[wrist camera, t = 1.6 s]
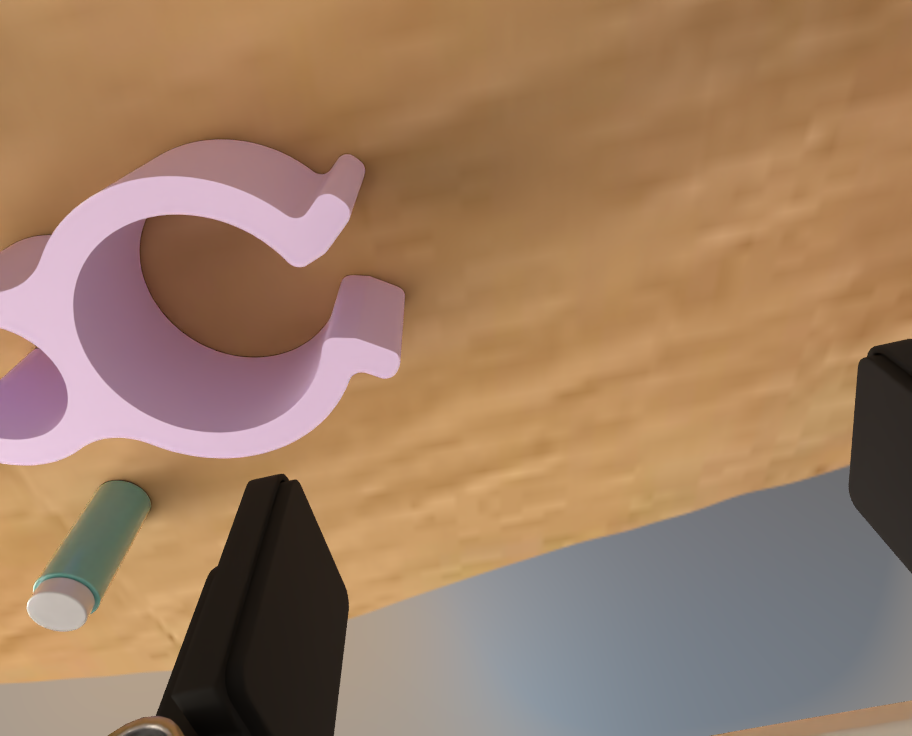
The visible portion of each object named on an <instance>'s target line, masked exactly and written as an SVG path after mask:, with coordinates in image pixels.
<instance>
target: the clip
mask: <svg viewBox="0 0 912 736" xmlns="http://www.w3.org/2000/svg"><path fill="white" fill-rule="evenodd" d="M364 175H365V167H364V165H363V163H362V162H361V161H360V160H358V159H357V158H356V157H354V156H353V155H350V154H344V155H342V156H340V157H339V158H338V159H337V161H336V162H335V164H334V165H333V167H332V168H331V170H330V171H329V172H327V173H325V174H317V173H315V172H314V171H312V170H311V169H309V168H308V167H307V166H305V165H304V164H302V163H300V162H299V161H297V160H295V159H294V158H292V157H290V156H288V155H286V154H284V153H281V152H279V151H277V150H274V149H272V148H269V147H266V146H263V145H259V144H255V143H251V142H245V141H239V140H226V139H216V140H204V141H198V142H192V143H188V144H185V145H182V146H179V147H176V148H173V149H171V150H169V151H167V152H165V153H163V154H161V155H159V156H157V157H156V158H154V159H153V160H151V161H149V162H148V163H146V164H144V165H143V166H141V167H139V168H138V169H136V170H134V171H133V172H131V173H129V174H128V175H126V176H124V177H123V178H121V179H119V180H118V181H116V182H114V183H113V184H111V185H109V186H108V187H106V188H104V189H103V190H101V191H99V192H98V193H96V194H94V195H93V196H91V197H90V198H88V199H87V200H85V201H84V202H82V203H81V204H80V205H78V206H77V207H76V208H74V209H73V210H72V211H71V212H70V213H69V214H68V215H67V216H66V217H65V218H64V219H63V220H62V222H61V223H60V224H59V225H58V227H57V228H56V229H55V231H54V232H53V234H52V235H40V236H34V237H30V238H26V239H23V240H20V241H18V242H16V243H14V244H12V245H11V246H9V247H7V248H6V249H4V250H2V251H1V252H0V328H2V329H5V330H8V331H10V332H13V333H15V334H17V335H20V336H22V337H23V338H25V339H27V340H29V341H30V342H32V343H33V344H35V345H36V346H37V347H38V348H37V349H34V350H33V351H32V352H30V353H29V354H28V355H27V356H26V357H25V358H24V359H23V360H21V361H20V362H19V363H18V364H17V365H16V366H15V367H14V368H13V369H12V370H10V371H9V372H8V373H7V374H6V375H5V376H4V377H3V378H2V379H0V463H4V464H11V465H39V464H46V463H51V462H55V461H58V460H61V459H63V458H66V457H68V456H70V455H72V454H74V453H75V452H77V451H78V450H80V449H81V448H82V447H84V446H86V445H87V444H89V443H92V442H94V441H97V440H101V439H106V438H130V439H135V440H140V441H143V442H146V443H149V444H152V445H154V446H157V447H160V448H163V449H166V450H169V451H173V452H177V453H181V454H186V455H191V456H198V457H207V458H238V457H246V456H252V455H258V454H262V453H266V452H269V451H272V450H276V449H278V448H281V447H283V446H286V445H288V444H290V443H292V442H294V441H296V440H298V439H299V438H301V437H303V436H304V435H306V434H307V433H309V432H310V431H311V430H313V429H314V428H315V427H316V426H318V425H319V424H320V423H321V422H322V421H323V420H324V419H325V418H326V417H327V416H328V415H329V414H330V413H331V411H332V410H333V409H334V407H335V406H336V405H337V403H338V402H339V400H340V399H341V397H342V395H343V393H344V391H345V389H346V387H347V385H348V383H349V380H350V378H351V377H352V376H353V375H354V374H356V373H359V372H364V373H368V374H371V375H374V376H377V377H380V378H390V377H392V376H394V375H395V374H396V372H397V370H398V368H399V366H400V359H401V345H402V331H403V317H404V303H405V294H404V291H403V290H402V289H401V288H400V287H397V286H395V285H392V284H389V283H387V282H384V281H382V280H379V279H376V278H374V277H371V276H360V275H349V276H346V277H345V278H343V280H342V282H341V285H340V288H339V292H338V295H337V298H336V302H335V305H334V309H333V312H332V315H331V317H330V319H329V320H328V322H327V323H326V325H325V326H324V327H323V328H322V329H321V331H320V332H319V333H318V334H317V335H315V336H314V337H313V338H312V339H311V340H309V341H308V342H306V343H305V344H303V345H302V346H300V347H298V348H296V349H294V350H291V351H289V352H286V353H283V354H279V355H275V356H269V357H256V358H254V357H240V356H233V355H229V354H225V353H222V352H218V351H215V350H213V349H210V348H208V347H206V346H204V345H202V344H200V343H198V342H196V341H194V340H193V339H191V338H190V337H188V336H187V335H185V334H184V333H183V332H181V331H180V330H179V329H178V328H177V327H175V326H174V325H173V324H172V323H171V322H170V321H169V320H168V319H167V318H166V316H165V315H164V314H163V313H162V312H161V310H160V309H159V308H158V306H157V305H156V303H155V301H154V300H153V298H152V296H151V294H150V293H149V290H148V288H147V286H146V283H145V280H144V277H143V274H142V270H141V264H140V239H141V233H142V229H143V226H144V223H145V221H146V218H149V217H154V216H160V215H178V214H182V215H194V216H201V217H206V218H211V219H215V220H219V221H222V222H225V223H228V224H230V225H233V226H236V227H238V228H240V229H242V230H244V231H246V232H248V233H250V234H252V235H254V236H255V237H257V238H259V239H260V240H262V241H263V242H265V243H266V244H267V245H269V246H270V247H272V248H273V249H274V250H275V251H276V252H278V253H279V254H280V255H281V256H282V257H283V258H284V259H285V260H286V261H287V262H288V263H289V264H291V265H293V266H295V267H304V266H306V265H308V264H309V263H311V262H313V261H314V260H316V259H317V258H319V257H320V256H322V255H324V254H325V253H326V252H327V250H328V249H329V248H330V246H331V245H332V243H333V242H334V241H335V239H336V238H337V236H338V235H339V234H340V232H341V231H342V229H343V228H344V227H345V225H346V224H347V223H348V221H349V219H350V216H351V213H352V210H353V207H354V204H355V201H356V198H357V195H358V192H359V189H360V187H361V184H362V181H363V178H364Z"/></svg>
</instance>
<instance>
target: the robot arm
mask: <svg viewBox="0 0 912 736" xmlns="http://www.w3.org/2000/svg"><path fill="white" fill-rule="evenodd" d="M849 493H850V497H851V500H852V502H853V504H854V506H855V507H856V509H857V510H858V511H859V512H860V513H861V515H862V516H863V517H864V518H865V519H866V520H867V521H868V523H869V524H870V525H871V526H872V527H873V529H874V530H875V531H876V532H877V533H878V534H879V536H880V537H881V538H882V539H883V540H884V542H885V543H886V544H887V545H888V546H889V547H890V549H891V550H892V551H893V552H894V553H895V554H896V556H897V557H898V558H899V559H900V560H901V561H902V562H903V564H904V565H905V566H906V567H907V568H908V570H909V571H910V572H911V573H912V339H907V340H902V341H897V342H893V343H888V344H883V345H879V346H874V347H873V348H871V349H870V351H869V352H868V355H867V357H866V358H863V359H861V360H860V362H859V365H858V373H857V386H856V398H855V411H854V424H853V437H852V449H851V462H850V475H849ZM348 611H349V601H348V595H347V590H346V588H345V585H344V583H343V580H342V578H341V576H340V574H339V571H338V569H337V567H336V564H335V562H334V560H333V558H332V555H331V553H330V551H329V548H328V546H327V544H326V542H325V539H324V537H323V535H322V532H321V530H320V528H319V526H318V523H317V521H316V519H315V516H314V514H313V512H312V510H311V507H310V505H309V503H308V500H307V498H306V496H305V494H304V491H303V489H302V487H301V485H300V483H299V482H298V481H297V480H291V481H289V479H288V478H287V477H286V476H285V475H284V474H278V475H273V476H269V477H264V478H259V479H255V480H251V481H249V482H248V484H247V486H246V489H245V492H244V494H243V497H242V500H241V503H240V505H239V508H238V511H237V514H236V517H235V519H234V522H233V525H232V528H231V530H230V533H229V536H228V539H227V542H226V544H225V547H224V550H223V553H222V555H221V558H220V561H219V564H218V566H217V567H215V568H214V569H213V570H211V572H210V573H209V575H208V577H207V579H206V582H205V585H204V587H203V590H202V593H201V595H200V598H199V601H198V603H197V606H196V609H195V612H194V614H193V617H192V620H191V622H190V625H189V628H188V630H187V633H186V636H185V639H184V641H183V644H182V647H181V649H180V652H179V655H178V657H177V660H176V663H175V665H174V668H173V671H172V674H171V676H170V679H169V682H168V684H167V687H166V690H165V692H164V695H163V698H162V701H161V703H160V706H159V709H158V711H157V714H156V716H151V717H143V718H140V719H137V720H135V721H132V722H130V723H127V724H125V725H124V726H122V727H120V728H119V729H117V730H116V731H114V732H113V733H111V734H109V735H108V736H334V728H335V720H336V711H337V703H338V694H339V687H340V678H341V670H342V660H343V652H344V645H345V636H346V628H347V620H348ZM712 736H912V701H906V702H901V703H895V704H889V705H883V706H877V707H871V708H866V709H859V710H854V711H848V712H842V713H836V714H831V715H825V716H819V717H813V718H808V719H802V720H797V721H791V722H785V723H780V724H774V725H768V726H762V727H757V728H751V729H745V730H740V731H734V732H728V733H723V734H717V735H712Z"/></svg>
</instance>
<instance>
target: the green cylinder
mask: <svg viewBox="0 0 912 736" xmlns="http://www.w3.org/2000/svg"><path fill="white" fill-rule="evenodd" d="M150 509H151V502H150V499H149V497H148V495H147V494H146V492H145V491H144V490H142V489H141V488H140V487H138V486H137V485H135V484H133V483H130V482H126V481H120V480H115V481H109V482H106V483H104V484H102V485H101V486H100V487H98V489H97V490H96V492H95V493H94V495H93V496H92V498H91V499H90V501H89V502H88V504H87V505H86V507H85V508H84V510H83V511H82V513H81V514H80V516H79V517H78V519H77V520H76V522H75V523H74V525H73V526H72V528H71V529H70V531H69V532H68V534H67V535H66V537H65V538H64V540H63V541H62V543H61V544H60V546H59V547H58V549H57V550H56V552H55V553H54V555H53V556H52V558H51V559H50V561H49V562H48V564H47V565H46V567H45V568H44V570H43V571H42V573H41V574H40V576H39V577H38V579H37V580H36V582H35V584H34V586H33V594H32V596H31V597H30V599H29V600H28V602H27V612H28V614H29V616H30V617H31V618H32V619H33V620H34V621H35V622H36V623H37V624H39V625H41V626H42V627H45V628H47V629H50V630H54V631H72V630H76V629H78V628H80V627H81V626H82V625H84V624H85V622H86V621H87V619H88V617H89V615H90V614H92V613H93V612H94V611H96V610H97V609H98V607H99V605H100V604H101V602H102V600H103V598H104V596H105V594H106V592H107V590H108V589H109V587H110V585H111V583H112V581H113V579H114V577H115V576H116V574H117V572H118V570H119V568H120V566H121V564H122V562H123V561H124V559H125V557H126V555H127V553H128V551H129V549H130V548H131V546H132V544H133V542H134V540H135V538H136V536H137V534H138V533H139V531H140V529H141V527H142V525H143V523H144V521H145V520H146V518H147V516H148V514H149V512H150Z"/></svg>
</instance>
